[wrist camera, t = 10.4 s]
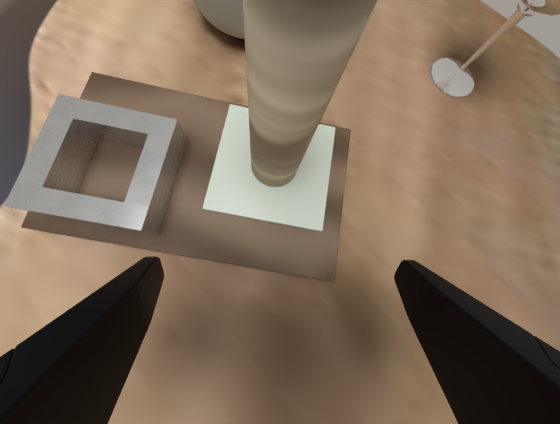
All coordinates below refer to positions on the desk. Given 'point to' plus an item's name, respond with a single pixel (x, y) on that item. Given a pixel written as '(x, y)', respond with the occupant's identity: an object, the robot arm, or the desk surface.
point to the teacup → (224, 15)
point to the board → (199, 191)
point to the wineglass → (457, 75)
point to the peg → (294, 74)
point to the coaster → (264, 199)
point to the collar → (78, 154)
